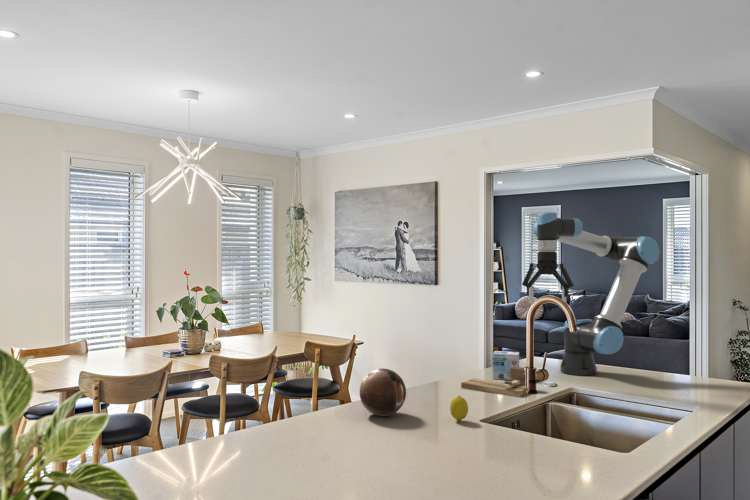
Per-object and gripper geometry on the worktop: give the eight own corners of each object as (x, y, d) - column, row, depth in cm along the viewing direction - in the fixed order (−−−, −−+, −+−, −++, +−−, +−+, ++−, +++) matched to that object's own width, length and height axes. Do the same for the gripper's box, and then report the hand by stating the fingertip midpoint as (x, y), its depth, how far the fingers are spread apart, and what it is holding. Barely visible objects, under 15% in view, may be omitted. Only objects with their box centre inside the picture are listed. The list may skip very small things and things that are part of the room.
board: (473, 383, 236) (473, 378, 236) (530, 391, 222) (530, 386, 222) (461, 387, 228) (461, 382, 228) (519, 397, 214) (519, 391, 214)
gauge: (514, 387, 230) (514, 366, 230) (529, 389, 226) (529, 368, 226) (498, 393, 219) (498, 372, 219) (514, 396, 215) (513, 374, 215)
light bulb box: (492, 379, 244) (492, 353, 244) (493, 375, 251) (493, 350, 251) (518, 380, 241) (518, 354, 241) (519, 377, 248) (519, 351, 248)
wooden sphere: (352, 412, 194) (351, 367, 194) (391, 407, 201) (391, 363, 201) (372, 424, 180) (372, 375, 180) (414, 418, 187) (414, 370, 187)
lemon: (467, 424, 180) (467, 398, 180) (449, 423, 181) (449, 397, 181) (468, 419, 186) (468, 394, 186) (450, 418, 187) (450, 393, 187)
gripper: (513, 251, 240) (514, 303, 240) (575, 251, 225) (575, 306, 224) (521, 251, 246) (521, 302, 246) (581, 251, 231) (581, 305, 230)
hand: (547, 304), depth 235 cm, fingers open, 13 cm apart
